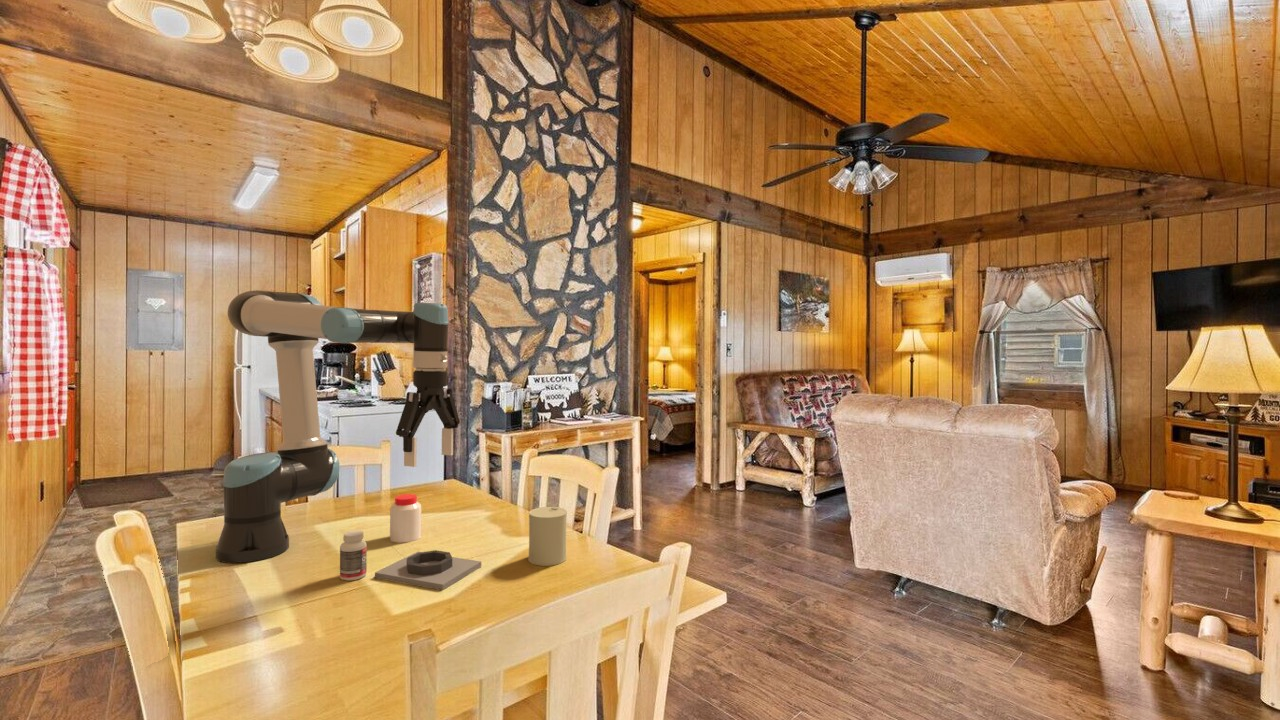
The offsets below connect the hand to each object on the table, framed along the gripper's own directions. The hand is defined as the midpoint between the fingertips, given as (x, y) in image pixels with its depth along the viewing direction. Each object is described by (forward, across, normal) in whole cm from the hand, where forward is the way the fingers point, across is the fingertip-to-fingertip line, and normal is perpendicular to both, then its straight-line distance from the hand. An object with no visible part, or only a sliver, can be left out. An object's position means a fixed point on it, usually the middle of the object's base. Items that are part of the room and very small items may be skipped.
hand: (429, 460), depth 139 cm
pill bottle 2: (+25, +13, +17) cm, 33 cm away
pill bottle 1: (+25, -12, +11) cm, 30 cm away
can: (+24, +12, -25) cm, 37 cm away
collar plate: (+24, -4, -3) cm, 25 cm away
